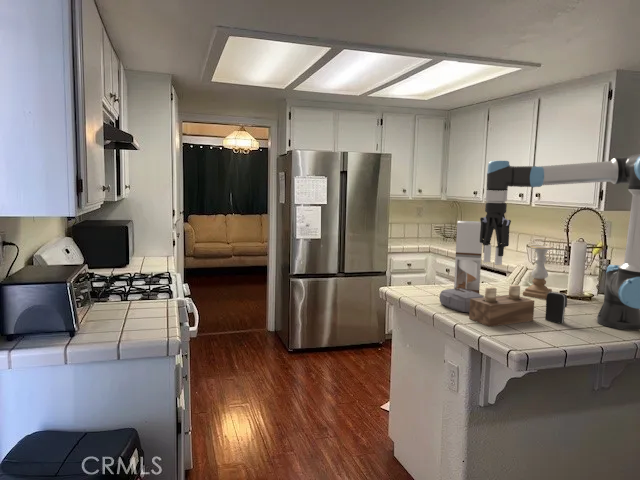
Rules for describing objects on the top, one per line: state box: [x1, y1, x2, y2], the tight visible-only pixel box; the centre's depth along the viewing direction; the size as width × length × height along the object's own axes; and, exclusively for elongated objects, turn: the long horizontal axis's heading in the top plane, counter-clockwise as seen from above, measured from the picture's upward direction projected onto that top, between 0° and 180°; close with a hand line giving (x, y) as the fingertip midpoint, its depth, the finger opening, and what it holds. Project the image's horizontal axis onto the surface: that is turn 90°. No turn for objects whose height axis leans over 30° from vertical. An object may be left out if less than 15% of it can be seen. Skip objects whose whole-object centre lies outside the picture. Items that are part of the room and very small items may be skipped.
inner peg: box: [508, 284, 521, 300], centre depth 190 cm, size 4×4×6 cm
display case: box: [453, 220, 483, 294], centre depth 227 cm, size 11×11×35 cm
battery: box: [544, 291, 568, 324], centre depth 188 cm, size 7×4×11 cm, turn 37°
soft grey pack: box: [439, 287, 484, 313], centre depth 206 cm, size 15×8×20 cm
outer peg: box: [484, 286, 497, 303], centre depth 185 cm, size 4×4×6 cm
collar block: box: [468, 294, 535, 327], centre depth 188 cm, size 11×22×8 cm, turn 113°
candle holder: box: [522, 244, 554, 300], centre depth 230 cm, size 11×11×24 cm
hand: (492, 263), depth 184 cm, fingers open, 5 cm apart
